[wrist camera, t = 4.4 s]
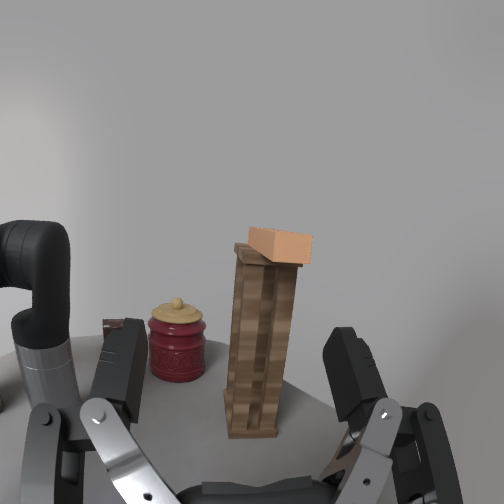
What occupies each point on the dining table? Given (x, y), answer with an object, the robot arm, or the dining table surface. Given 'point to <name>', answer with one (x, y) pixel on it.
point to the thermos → (1, 405)
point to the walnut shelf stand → (258, 342)
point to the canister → (176, 342)
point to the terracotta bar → (281, 245)
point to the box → (111, 325)
